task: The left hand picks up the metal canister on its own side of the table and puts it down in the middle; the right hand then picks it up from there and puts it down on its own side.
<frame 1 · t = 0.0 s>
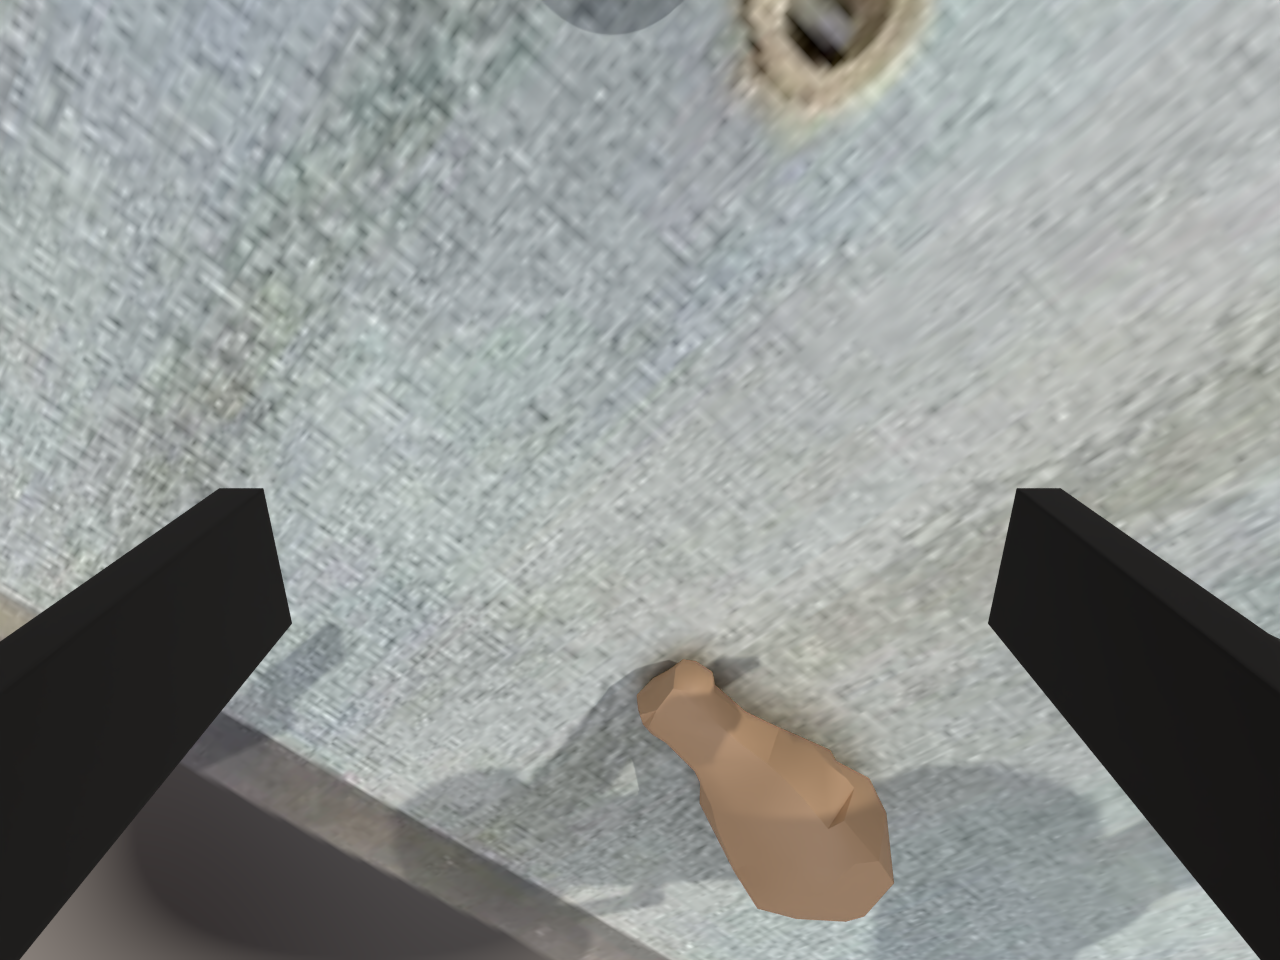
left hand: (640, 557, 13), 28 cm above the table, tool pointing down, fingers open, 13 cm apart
squash: (749, 747, 50), on the table
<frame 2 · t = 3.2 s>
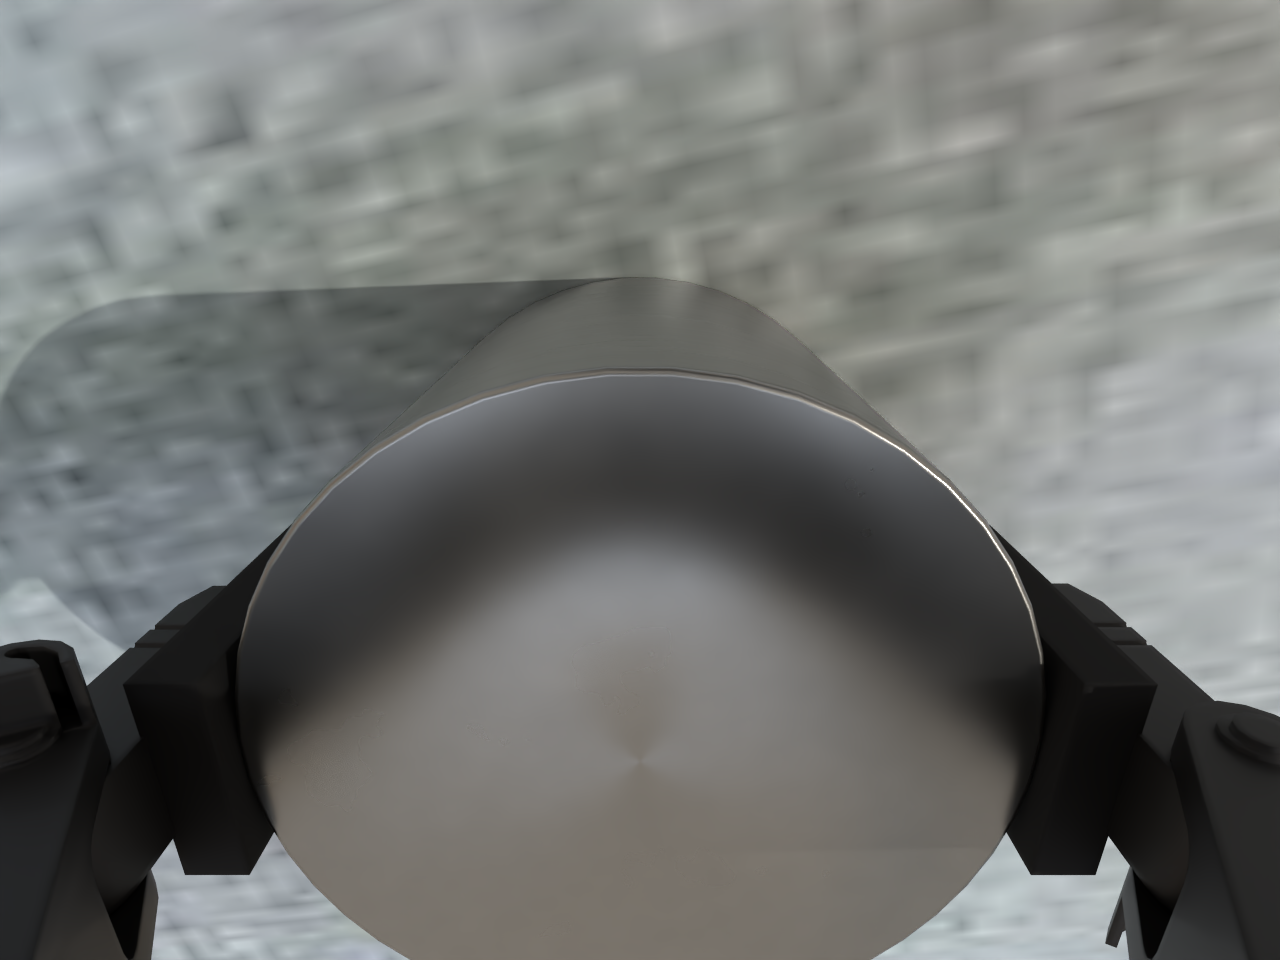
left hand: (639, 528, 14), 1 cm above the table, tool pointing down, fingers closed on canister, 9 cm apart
canister: (640, 500, 15), on the table, touching left hand
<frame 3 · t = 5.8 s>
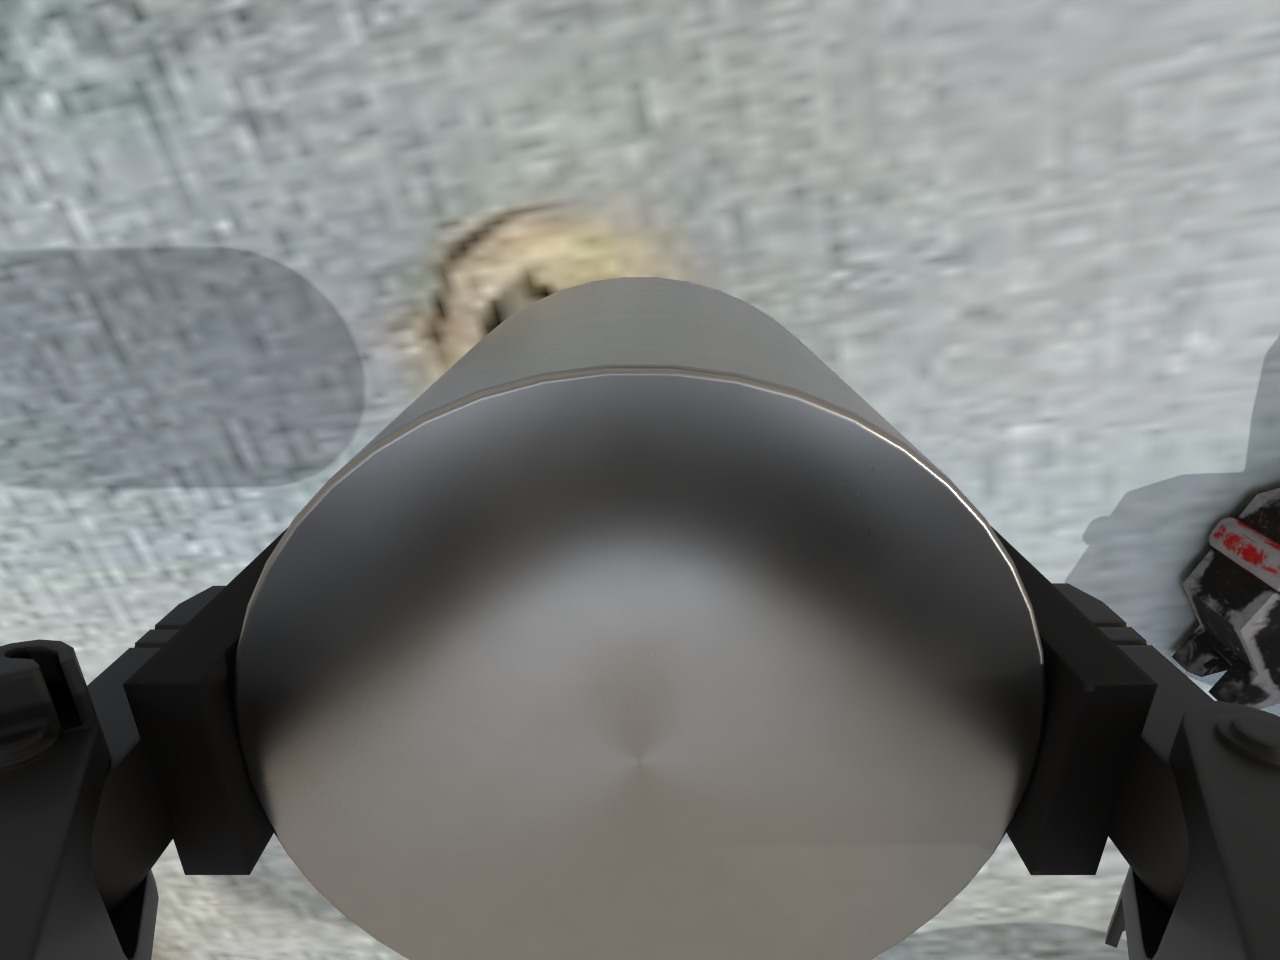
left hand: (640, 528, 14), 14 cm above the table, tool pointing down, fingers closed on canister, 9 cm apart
canister: (640, 500, 15), point 12 cm above the table, touching left hand
when the left hand's fingers open (3 cm above the table, at t = 8.9 s): canister drops 1 cm, on the table.
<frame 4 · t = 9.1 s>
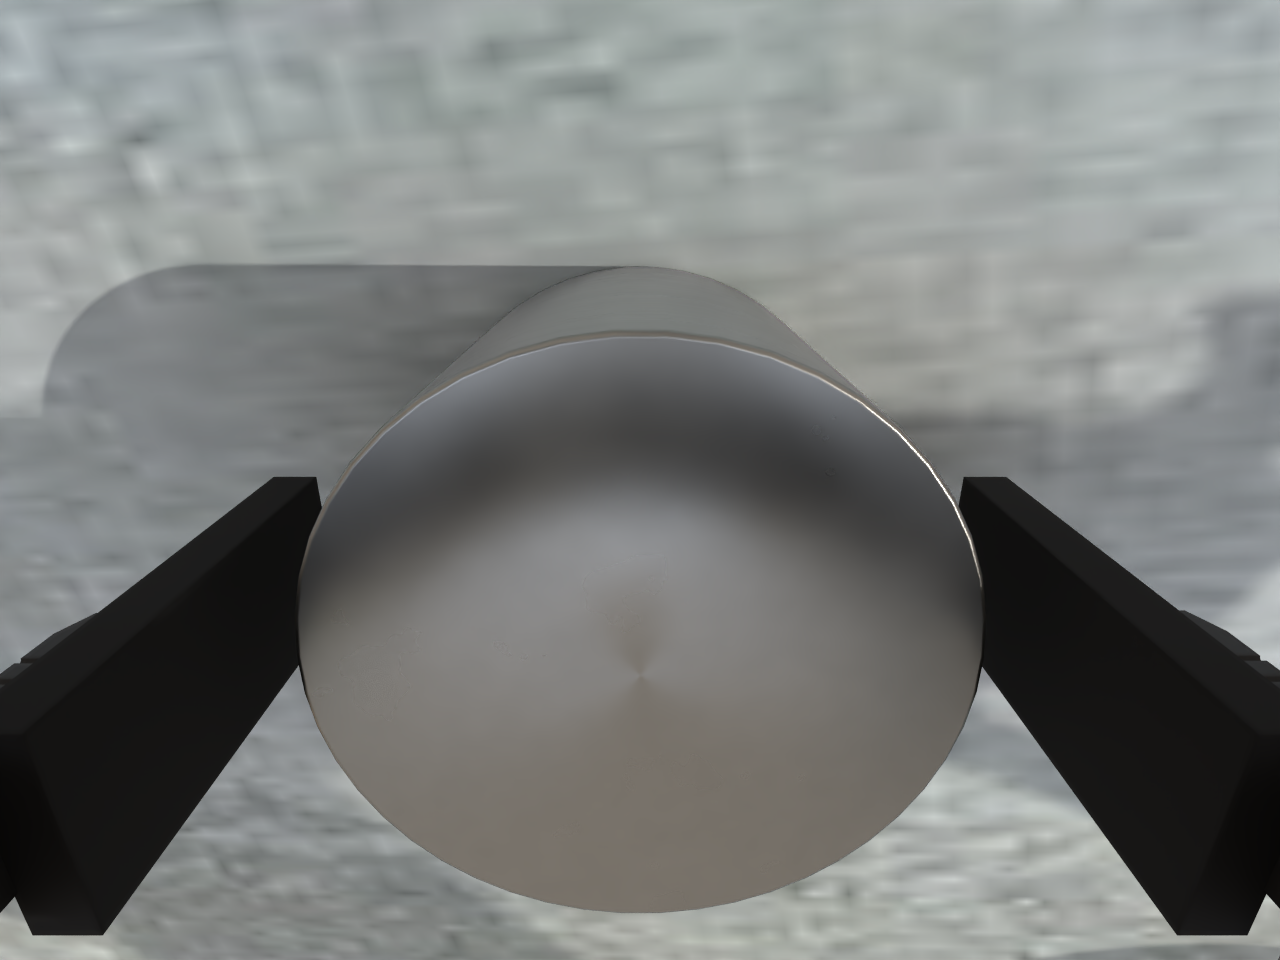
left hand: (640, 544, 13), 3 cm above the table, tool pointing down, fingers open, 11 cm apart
canister: (640, 472, 16), on the table
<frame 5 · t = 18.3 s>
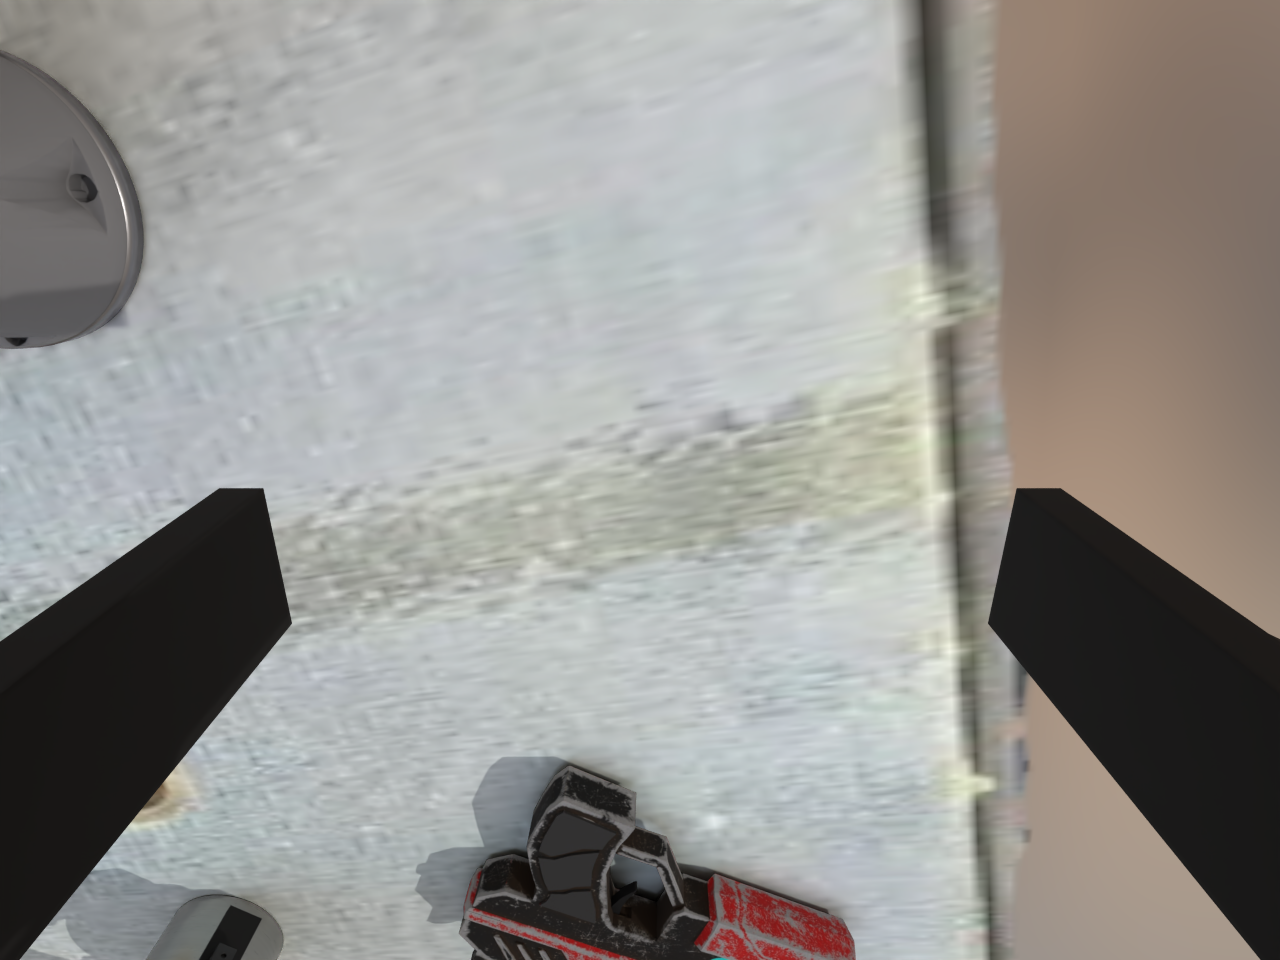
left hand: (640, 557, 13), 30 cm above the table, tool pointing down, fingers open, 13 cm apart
canister: (228, 933, 60), on the table, touching right hand
gun: (668, 893, 59), on the table
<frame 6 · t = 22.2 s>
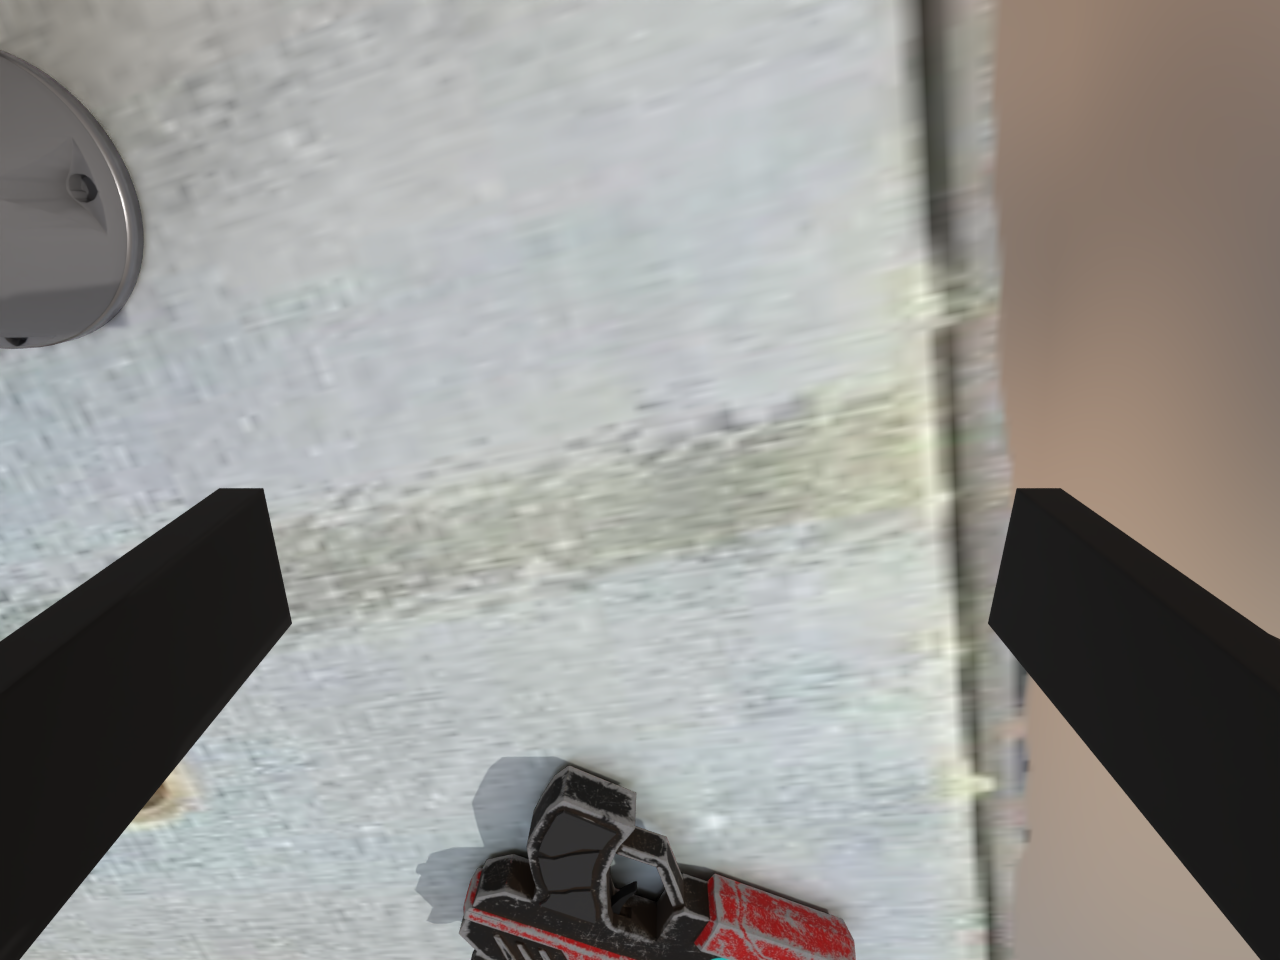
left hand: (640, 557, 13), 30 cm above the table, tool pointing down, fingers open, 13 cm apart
gun: (668, 893, 59), on the table
when the right hand's fingers open (3 cm above the table, at t = 26.3 s): canister drops 1 cm, on the table.
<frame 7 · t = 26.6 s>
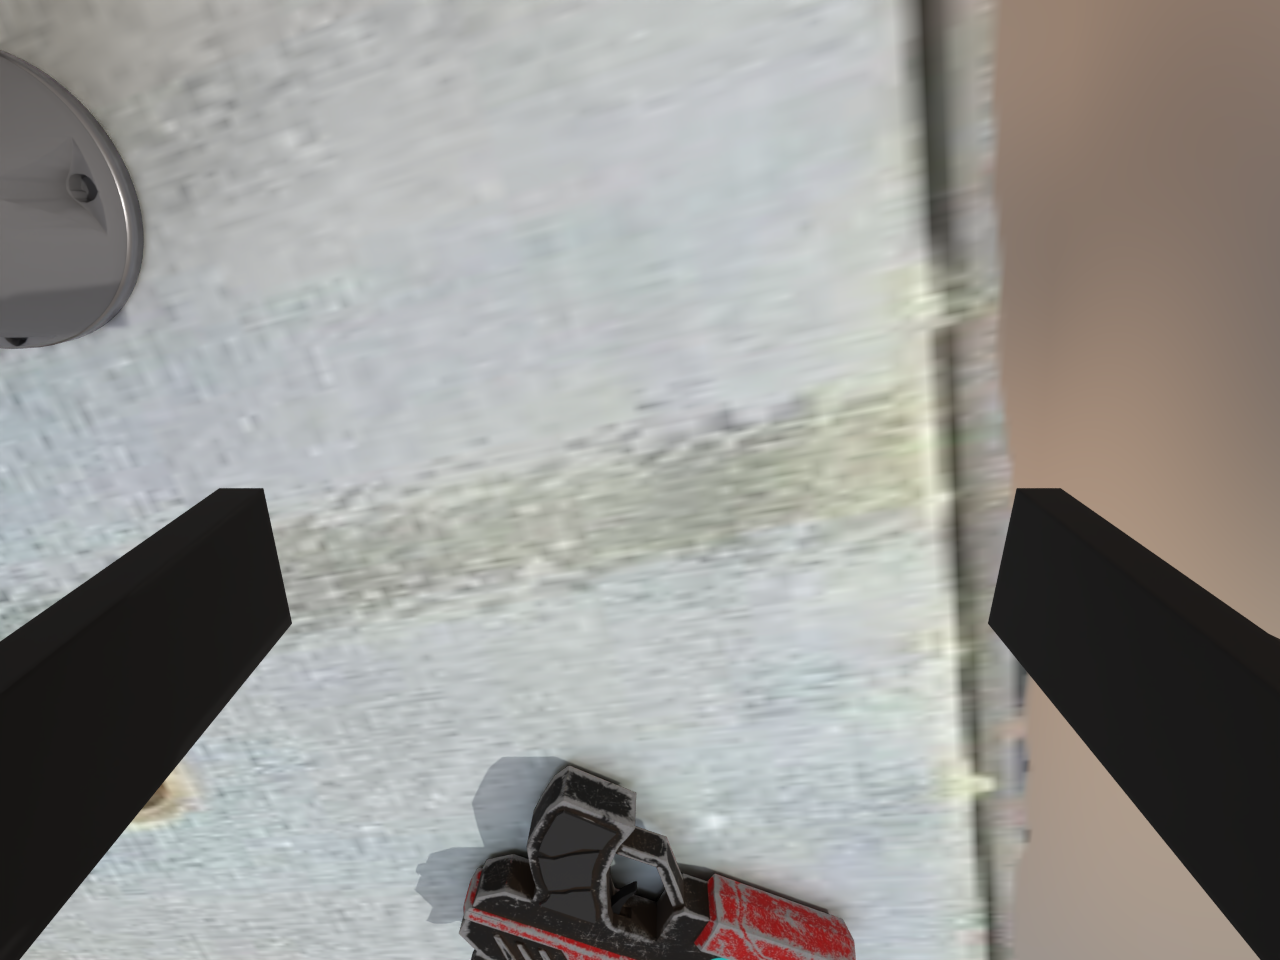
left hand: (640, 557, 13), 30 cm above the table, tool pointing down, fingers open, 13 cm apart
gun: (668, 893, 59), on the table
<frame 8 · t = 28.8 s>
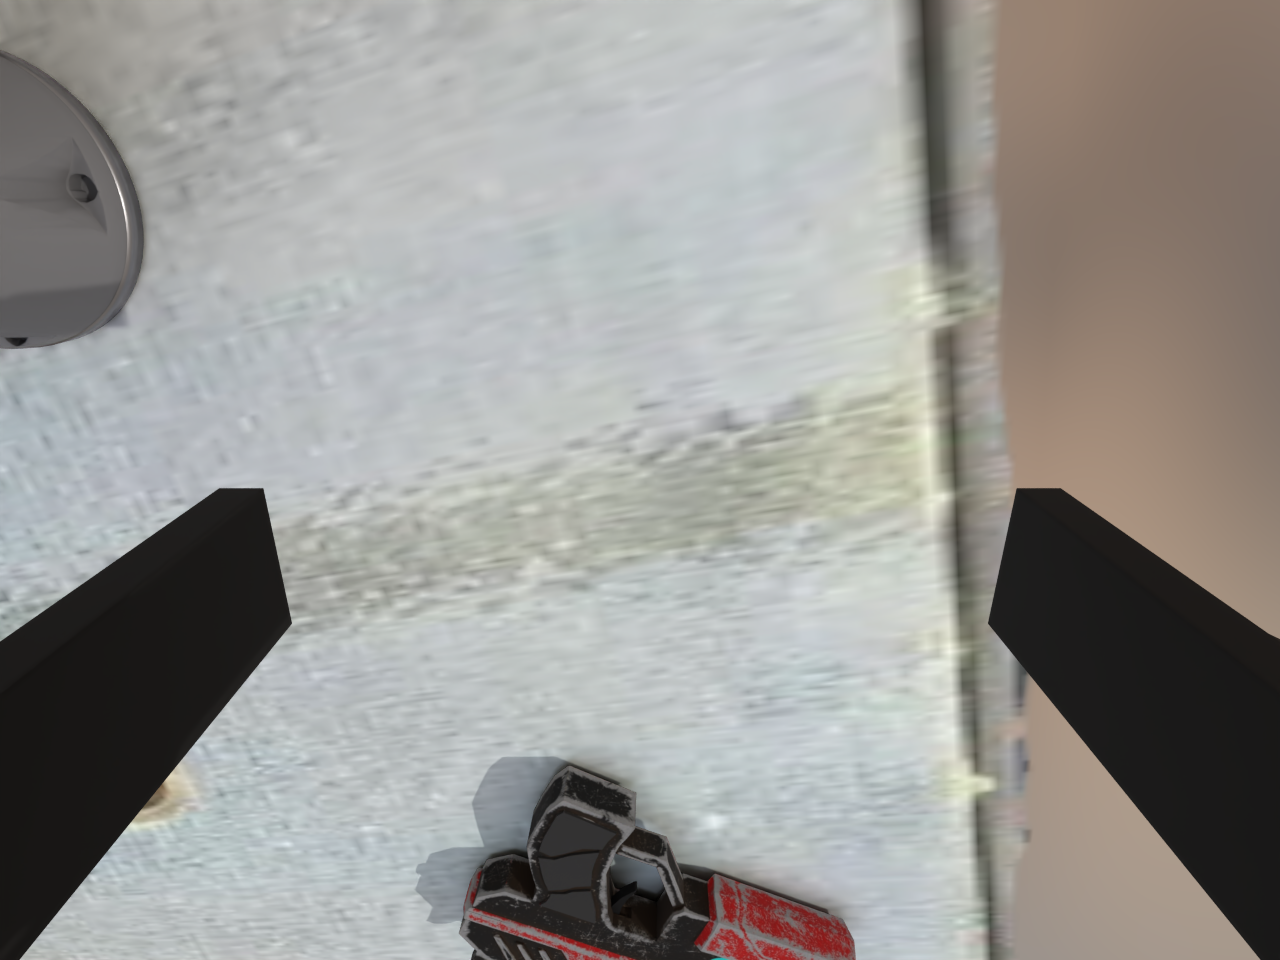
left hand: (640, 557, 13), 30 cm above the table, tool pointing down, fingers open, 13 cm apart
gun: (668, 893, 59), on the table
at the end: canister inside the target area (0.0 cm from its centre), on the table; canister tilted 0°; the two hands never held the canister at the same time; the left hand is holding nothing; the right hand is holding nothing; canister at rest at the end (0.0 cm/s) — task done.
